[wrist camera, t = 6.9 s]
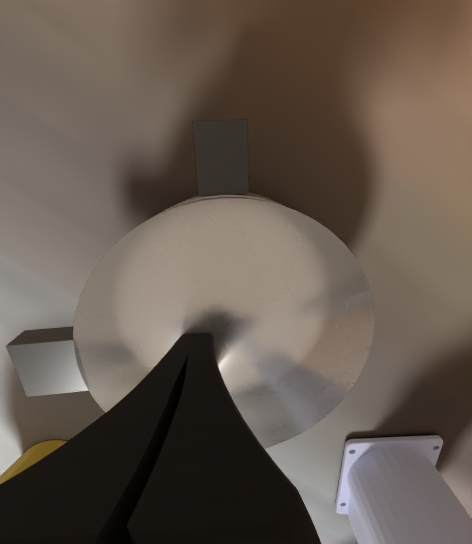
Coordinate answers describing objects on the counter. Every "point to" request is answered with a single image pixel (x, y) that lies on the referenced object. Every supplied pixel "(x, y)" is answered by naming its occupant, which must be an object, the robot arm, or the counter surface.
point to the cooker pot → (222, 160)
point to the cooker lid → (217, 313)
